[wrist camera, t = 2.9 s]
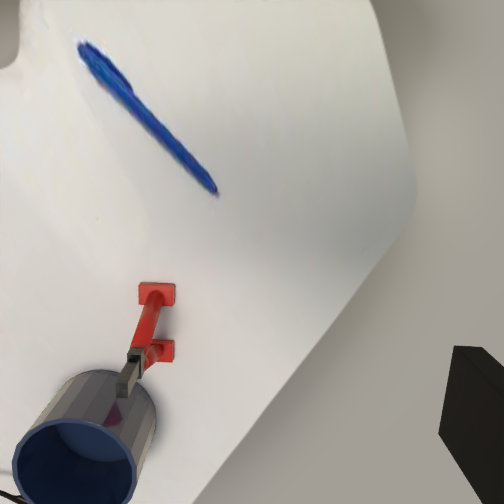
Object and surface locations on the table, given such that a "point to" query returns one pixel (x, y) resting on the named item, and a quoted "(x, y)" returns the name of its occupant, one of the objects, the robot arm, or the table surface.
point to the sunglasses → (14, 498)
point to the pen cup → (86, 444)
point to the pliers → (147, 337)
